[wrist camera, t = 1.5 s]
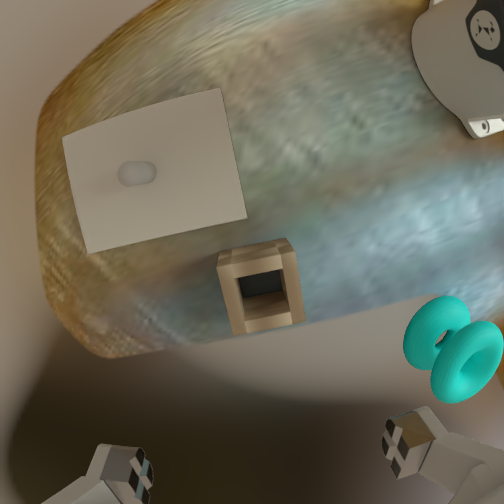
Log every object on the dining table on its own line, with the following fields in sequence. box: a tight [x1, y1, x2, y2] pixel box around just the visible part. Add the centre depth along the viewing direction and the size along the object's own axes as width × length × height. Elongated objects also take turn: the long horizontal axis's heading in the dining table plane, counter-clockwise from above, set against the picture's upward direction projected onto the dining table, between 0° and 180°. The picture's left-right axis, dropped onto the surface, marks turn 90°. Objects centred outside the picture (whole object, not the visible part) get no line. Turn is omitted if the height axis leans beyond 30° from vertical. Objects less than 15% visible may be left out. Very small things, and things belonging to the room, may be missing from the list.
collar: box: [216, 238, 306, 336], centre depth 28 cm, size 6×6×5 cm
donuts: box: [403, 296, 504, 403], centre depth 29 cm, size 10×10×10 cm
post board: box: [62, 88, 247, 254], centre depth 25 cm, size 16×12×6 cm
